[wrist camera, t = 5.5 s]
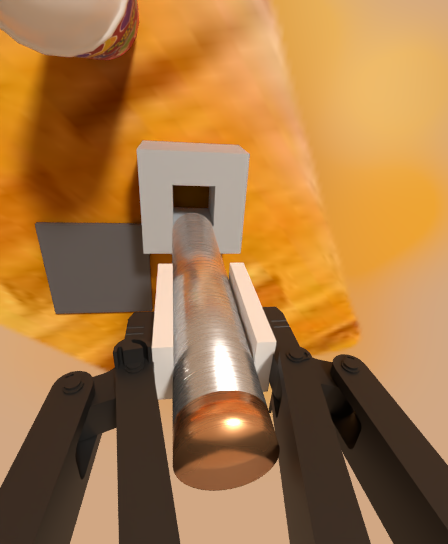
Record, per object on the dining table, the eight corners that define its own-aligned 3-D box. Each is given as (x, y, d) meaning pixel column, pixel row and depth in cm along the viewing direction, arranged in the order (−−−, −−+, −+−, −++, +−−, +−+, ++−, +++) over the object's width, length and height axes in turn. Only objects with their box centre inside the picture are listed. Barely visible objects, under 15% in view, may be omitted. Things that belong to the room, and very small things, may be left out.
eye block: (148, 231, 38) (143, 253, 32) (142, 140, 33) (136, 149, 28) (231, 232, 39) (240, 253, 34) (238, 145, 34) (249, 154, 29)
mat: (57, 310, 41) (55, 313, 41) (36, 222, 35) (34, 224, 35) (152, 308, 43) (152, 311, 42) (147, 223, 37) (147, 225, 37)
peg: (169, 215, 24) (164, 436, 9) (211, 210, 24) (280, 416, 9) (175, 253, 26) (180, 498, 10) (214, 248, 26) (278, 479, 10)
